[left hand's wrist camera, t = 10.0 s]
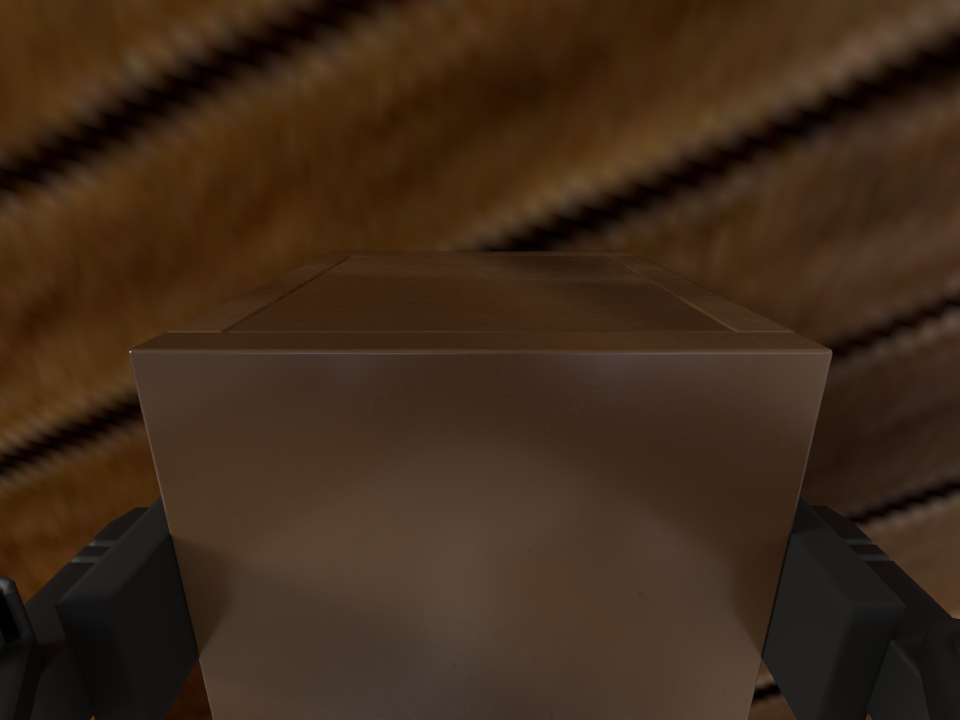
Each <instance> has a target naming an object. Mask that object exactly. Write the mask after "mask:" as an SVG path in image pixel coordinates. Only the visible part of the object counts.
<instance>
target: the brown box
mask: <svg viewBox="0 0 960 720" xmlns="http://www.w3.org/2000/svg"><path fill="white" fill-rule="evenodd" d="M129 358H130V363H131V367H132V371H133V376H134V380H135V384H136V388H137V393H138V397H139V401H140V406H141V410H142V414H143V419H144V423H145V427H146V432H147V436H148V440H149V445H150V449H151V453H152V458H153V462H154V466H155V471H156V475H157V479H158V484H159V488H160V492H161V497H162V501H163V505H164V510H165V514H166V518H167V523H168V527H169V531H170V536H171V540H172V544H173V549H174V553H175V557H176V562H177V566H178V570H179V575H180V579H181V583H182V588H183V592H184V596H185V600H186V605H187V609H188V613H189V618H190V622H191V626H192V631H193V635H194V639H195V644H196V648H197V652H198V657H199V661H200V665H201V670H202V674H203V678H204V683H205V687H206V691H207V696H208V700H209V704H210V709H211V713H212V717H213V720H748V716H749V712H750V708H751V703H752V699H753V695H754V690H755V686H756V682H757V677H758V673H759V669H760V664H761V660H762V656H763V651H764V647H765V643H766V638H767V634H768V630H769V625H770V621H771V617H772V613H773V608H774V604H775V600H776V595H777V591H778V587H779V582H780V578H781V574H782V569H783V565H784V561H785V556H786V552H787V548H788V543H789V539H790V535H791V530H792V526H793V522H794V518H795V513H796V509H797V505H798V500H799V496H800V492H801V487H802V483H803V479H804V474H805V470H806V466H807V461H808V457H809V453H810V448H811V444H812V440H813V435H814V431H815V427H816V423H817V418H818V414H819V410H820V405H821V401H822V397H823V392H824V388H825V384H826V379H827V375H828V371H829V366H830V362H831V358H832V350H831V349H829V348H827V347H825V346H823V345H821V344H819V343H816V342H814V341H812V340H810V339H808V338H806V337H804V336H802V335H800V334H798V333H795V332H794V331H792V330H790V329H788V328H786V327H784V326H782V325H780V324H778V323H776V322H774V321H772V320H770V319H768V318H766V317H763V316H761V315H759V314H757V313H755V312H753V311H751V310H749V309H747V308H745V307H743V306H741V305H739V304H737V303H735V302H732V301H730V300H728V299H726V298H724V297H722V296H720V295H718V294H716V293H714V292H712V291H710V290H708V289H706V288H703V287H701V286H699V285H697V284H695V283H693V282H691V281H689V280H687V279H685V278H683V277H681V276H679V275H677V274H674V273H672V272H670V271H668V270H666V269H664V268H662V267H660V266H658V265H656V264H654V263H652V262H650V261H648V260H645V259H643V258H641V257H639V256H637V255H634V254H632V253H630V252H331V253H328V254H326V255H324V256H322V257H320V258H318V259H316V260H314V261H312V262H309V263H307V264H305V265H303V266H301V267H299V268H297V269H295V270H293V271H291V272H289V273H287V274H285V275H283V276H281V277H279V278H276V279H274V280H272V281H270V282H268V283H266V284H264V285H262V286H260V287H258V288H256V289H254V290H252V291H250V292H248V293H246V294H243V295H241V296H239V297H237V298H235V299H233V300H231V301H229V302H227V303H225V304H223V305H221V306H219V307H217V308H215V309H213V310H210V311H208V312H206V313H204V314H202V315H200V316H198V317H196V318H194V319H192V320H190V321H188V322H186V323H184V324H182V325H180V326H177V327H175V328H173V329H171V330H169V331H168V332H165V333H163V334H161V335H159V336H157V337H155V338H153V339H151V340H148V341H146V342H144V343H142V344H140V345H138V346H136V347H134V348H132V349H130V350H129Z"/></svg>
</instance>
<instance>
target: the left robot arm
mask: <svg viewBox="0 0 960 720" xmlns="http://www.w3.org/2000/svg"><path fill="white" fill-rule="evenodd" d="M198 658H199V657H198V652H197V648H196V644H195V639H194V635H193V631H192V626H191V622H190V618H189V613H188V609H187V605H186V600H185V596H184V592H183V588H182V583H181V579H180V575H179V570H178V566H177V562H176V557H175V553H174V549H173V544H172V540H171V536H170V531H169V527H168V523H167V518H166V514H165V510H164V505H163V501H162V497H161V496H160V497H159V498H158V499H157V500H156V501H155V502H154V503H153V504H152V505H151V506H150V507H149V508H134V509H133V510H131V511H129V512H128V513H126V514H124V515H123V516H121V517H119V518H118V519H116V520H114V521H113V522H111V523H109V524H108V525H107V526H106V527H105V528H104V529H103V530H102V531H101V532H100V533H99V534H98V535H97V536H96V537H95V538H94V539H93V540H92V541H90V542H89V546H85V547H84V548H83V549H82V550H81V551H80V552H79V553H78V554H77V555H76V556H75V557H74V558H73V561H72V563H68V564H67V565H65V566H64V567H63V568H62V569H61V570H60V571H59V572H58V573H57V574H56V575H55V576H54V577H53V578H52V579H51V580H50V581H49V582H48V583H47V584H46V585H45V586H44V587H43V588H42V589H40V590H39V591H38V592H37V593H36V594H35V595H34V596H33V597H32V598H31V599H30V600H29V601H28V602H27V603H26V604H25V605H23V602H22V599H21V597H20V594H19V592H18V589H17V587H16V584H15V581H13V580H11V579H9V578H8V577H6V576H0V720H90V719H91V717H92V716H93V715H94V717H95V720H163V719H164V717H165V716H166V714H167V712H168V710H169V709H170V707H171V705H172V703H173V702H174V700H175V698H176V697H177V695H178V693H179V691H180V690H181V688H182V686H183V684H184V683H185V681H186V679H187V677H188V676H189V674H190V672H191V670H192V669H193V667H194V665H195V663H196V662H197V660H198ZM762 659H763V661H764V662H765V664H766V666H767V668H768V669H769V671H770V673H771V675H772V676H773V678H774V680H775V682H776V683H777V685H778V687H779V689H780V690H781V692H782V694H783V696H784V697H785V699H786V701H787V703H788V704H789V706H790V708H791V709H792V711H793V713H794V715H795V716H796V718H797V720H865V719H866V716H867V714H869V715H870V716H871V718H872V719H873V720H960V619H956V618H952V617H951V616H950V615H949V614H948V613H947V612H946V611H945V610H944V609H943V608H942V607H941V606H940V605H939V604H938V603H937V602H936V601H934V600H933V599H932V598H931V597H930V596H929V595H928V594H927V593H926V592H925V591H924V590H923V589H922V588H921V587H920V586H919V585H918V584H917V583H916V582H915V581H913V580H912V579H911V578H910V577H909V576H908V575H907V574H906V573H905V572H904V571H903V570H902V569H901V568H900V567H899V566H898V565H897V564H896V563H895V562H894V561H889V557H888V556H887V555H886V554H885V553H884V552H883V551H882V550H881V549H880V548H879V547H878V546H877V545H873V544H872V540H870V539H869V538H868V537H867V536H866V535H865V534H864V533H863V532H862V531H861V530H860V529H859V528H858V527H857V526H856V525H855V524H854V523H853V522H851V521H850V520H848V519H846V518H845V517H843V516H841V515H839V514H838V513H836V512H834V511H833V510H831V509H829V508H828V507H826V506H809V505H808V504H807V503H806V502H805V500H804V499H803V498H802V497H801V496H799V500H798V505H797V509H796V513H795V518H794V522H793V526H792V530H791V535H790V539H789V543H788V548H787V552H786V556H785V561H784V565H783V569H782V574H781V578H780V582H779V587H778V591H777V595H776V600H775V604H774V608H773V613H772V617H771V621H770V625H769V630H768V634H767V638H766V643H765V647H764V651H763V656H762Z"/></svg>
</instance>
